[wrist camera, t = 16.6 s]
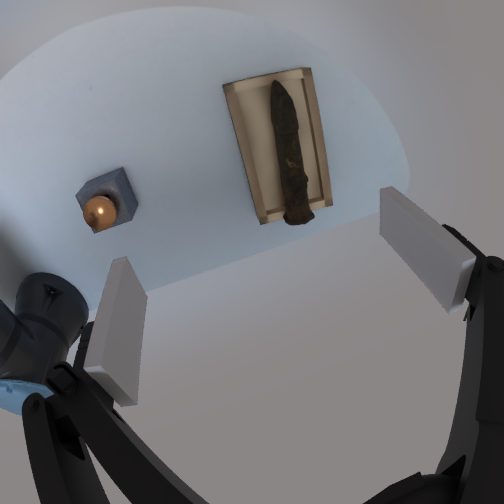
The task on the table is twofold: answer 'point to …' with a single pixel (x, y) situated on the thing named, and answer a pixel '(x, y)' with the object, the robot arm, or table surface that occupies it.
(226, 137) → the table surface
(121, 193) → the socket block
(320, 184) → the tray
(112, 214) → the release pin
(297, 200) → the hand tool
